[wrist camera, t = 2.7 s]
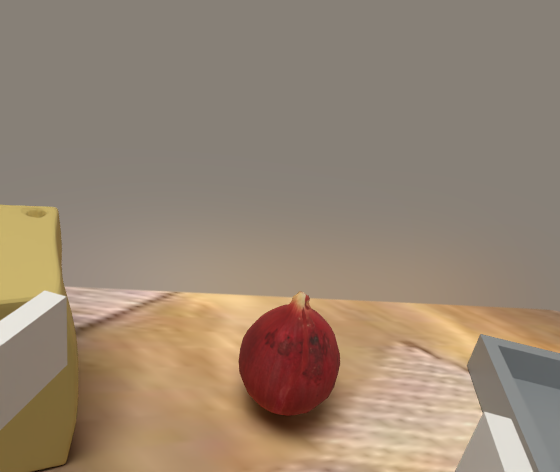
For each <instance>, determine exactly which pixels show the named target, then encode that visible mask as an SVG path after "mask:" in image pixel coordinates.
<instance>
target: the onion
mask: <svg viewBox="0 0 560 472" xmlns="http://www.w3.org/2000/svg"><path fill="white" fill-rule="evenodd" d="M309 299H310V298H309V296H307V295H306V294H305V293H303V292H301V291H299V292H298V293H297V294H296V295H295V296H293V299H292V301H291V303H290V304H289V305H283V306H280V307H277V308H275V309H272V310H270V311H268V312H267V313H265V314H264V315H262V316H261V317H260V318H259V319H258V320H257V321H256V322H255V323H254V324H253V325H252V326H251V327H250V328H249V329H248V331H247V332H246V334H245V336H244V338H243V340H242V344H241V348H240V355H239V372H240V375H241V377H242V380H243V383H244V385H245V387H246V390H247V392H248V394H249V395H250V396H251V397H252V398H253V399H254V400H255V401H256V402H257V403H258V404H259V405H260V406H261V407H263V408H265V409H266V410H268V411H270V412H272V413H275V414H281V415H286V416H289V415H297V414H303V413H308V412H309V411H311V410H312V409H313V408H315V407H316V406H317V405H319V404H320V403H321V402H323V401H324V400H325V399H327V398H328V396H329V395H330V393H331V391H332V389H333V388H334V385H335V382H336V378H337V375H338V371H339V366H340V353H339V349H338V346H337V342H336V338H335V334H334V332H333V331H332V329H331V327H330V326H329V324H328V323H327V322H326V321H325V320H324V318H323V317H322V316H321V315H320V314H319V313H317V312H316V311H315V310H313V309H311V307H310V305H309Z"/></svg>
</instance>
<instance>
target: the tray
mask: <svg viewBox="0 0 560 472" xmlns="http://www.w3.org/2000/svg"><path fill="white" fill-rule="evenodd" d="M467 367H468V370H469V373H470V376H471V379H472V382H473V385H474V387H475V390H476V393H477V396H478V399H479V402H480V405H481V408H482V411H483V413H484V412H488V413H491V414H495V415H499V416H502V417H506V418H509V419H511V420H512V422H513V424H514V427H515V429H516V432H517V434H518V436H519V439H520V441H521V444H522V446H523V448H524V451H525V453H526V456H527V458H528V460H529V463H530V465H531V468H532V470H533V472H560V353H556V352H552V351H548V350H543V349H539V348H535V347H531V346H527V345H523V344H519V343H515V342H511V341H507V340H503V339H499V338H494V337H490V336H486V335H482V334H480V336H479V339H478V341H477V343H476V346H475V348H474V350H473V353H472V355H471V357H470V360H469V362H468V364H467Z"/></svg>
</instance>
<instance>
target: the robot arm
mask: <svg viewBox="0 0 560 472" xmlns="http://www.w3.org/2000/svg"><path fill="white" fill-rule="evenodd" d="M66 366H67V296H63V295H59V294H56V293H52V292H49V291H43V292H42V293H40V294H39V295H37V296H36V297H34V298H33V299H31V300H30V301H28V302H27V303H26V304H24V305H23V306H21V307H20V308H18V309H17V310H15V311H14V312H12V313H11V314H9V315H8V316H6V317H5V318H3V319H2V320H0V430H1V429H2V428H3V427H4V426H5V425H6V424H7V423H8V422H9V421H10V420H11V419H12V418H13V417H14V416H15V415H16V414H17V413H19V412H20V411H21V410H22V409H23V408H24V407H25V406H26V405H27V404H28V403H29V402H30V401H31V400H32V399H33V398H34V397H35V396H36V395H37V394H38V393H39V392H40V391H41V390H42V389H43V388H44V387H45V386H46V385H47V384H48V383H49V382H50V381H51V380H52V379H53V378H54V377H55V376H56V375H57V374H58V373H59V372H60V371H61V370H62V369H63V368H64V367H66ZM455 472H533V470H532V468H531V465H530V463H529V460H528V458H527V456H526V453H525V451H524V448H523V446H522V444H521V441H520V439H519V436H518V434H517V432H516V429H515V427H514V424H513V422H512V420H511V419H509V418H506V417H502V416H499V415H495V414H491V413H488V412H484V413H483V415H482V417H481V419H480V421H479V423H478V425H477V427H476V429H475V431H474V433H473V435H472V437H471V439H470V441H469V443H468V445H467V448H466V450H465V452H464V454H463V456H462V458H461V460H460V462H459V464H458V466H457V468H456V470H455Z"/></svg>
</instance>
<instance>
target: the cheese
mask: <svg viewBox="0 0 560 472" xmlns="http://www.w3.org/2000/svg"><path fill="white" fill-rule="evenodd" d="M61 253H62V244H61V230H60V222H59V213H58V209H57V208H54V207H39V206H12V205H0V320H2V319H3V318H5V317H6V316H8V315H9V314H11V313H12V312H14V311H15V310H17V309H18V308H20V307H21V306H23V305H24V304H26V303H27V302H28V301H30V300H31V299H33V298H34V297H36V296H37V295H39V294H40V293H42V292H43V291H49V292H52V293H56V294H59V295H63V296H67V294H66V291H65V287H64V283H63V278H62V267H61V260H62V254H61ZM77 407H78V352H77V341H76V333H75V327H74V322H73V317H72V313H71V309H70V305H69V301H68V298H67V366H66V367H64V368H63V369H62V370H61V371H60V372H59V373H58V374H57V375H56V376H55V377H54V378H53V379H52V380H51V381H50V382H49V383H48V384H47V385H46V386H45V387H44V388H43V389H42V390H41V391H40V392H39V393H38V394H37V395H36V396H35V397H34V398H33V399H32V400H31V401H30V402H29V403H28V404H27V405H26V406H25V407H24V408H23V409H22V410H21V411H20V412H19V413H17V414H16V415H15V416H14V417H13V418H12V419H11V420H10V421H9V422H8V423H7V424H6V425H5V426H4V427H3V428H2V429H1V430H0V472H31V471H36V470H40V469H45V468H49V467H54V466H59V465H63V464H65V463H66V461H67V457H68V453H69V449H70V445H71V441H72V437H73V433H74V429H75V424H76V418H77Z"/></svg>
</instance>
